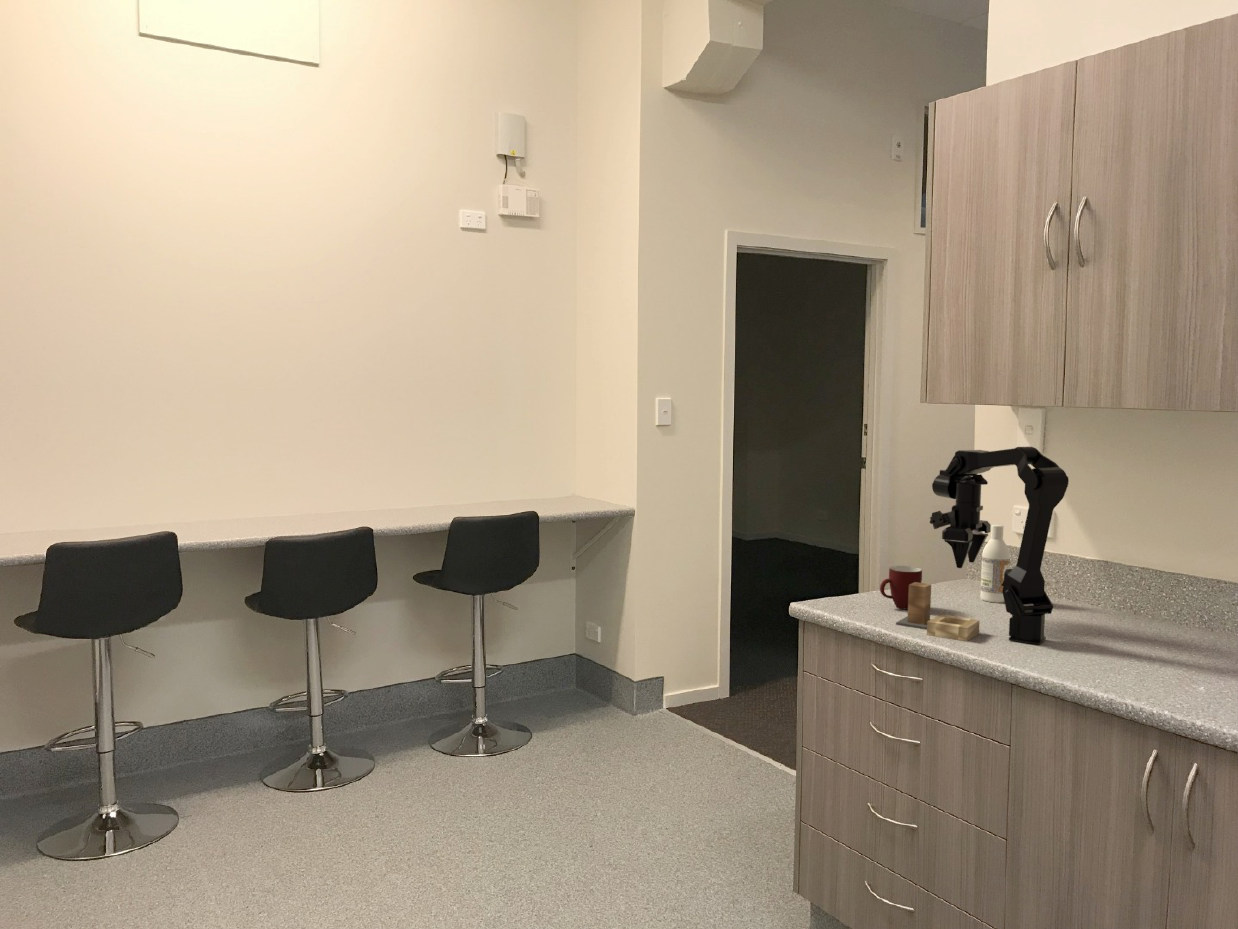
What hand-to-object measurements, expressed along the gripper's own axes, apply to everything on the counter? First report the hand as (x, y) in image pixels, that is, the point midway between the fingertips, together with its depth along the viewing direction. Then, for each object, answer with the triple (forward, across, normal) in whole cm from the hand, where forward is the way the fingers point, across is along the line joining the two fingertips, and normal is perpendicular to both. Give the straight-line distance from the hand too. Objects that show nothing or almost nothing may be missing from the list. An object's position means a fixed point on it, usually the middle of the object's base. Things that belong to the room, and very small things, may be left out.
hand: (965, 565), depth 239 cm
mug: (+13, 0, -16) cm, 21 cm away
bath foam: (+13, -24, 0) cm, 27 cm away
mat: (+13, +13, -6) cm, 20 cm away
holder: (+13, +17, +3) cm, 22 cm away
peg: (+12, +13, -6) cm, 19 cm away
